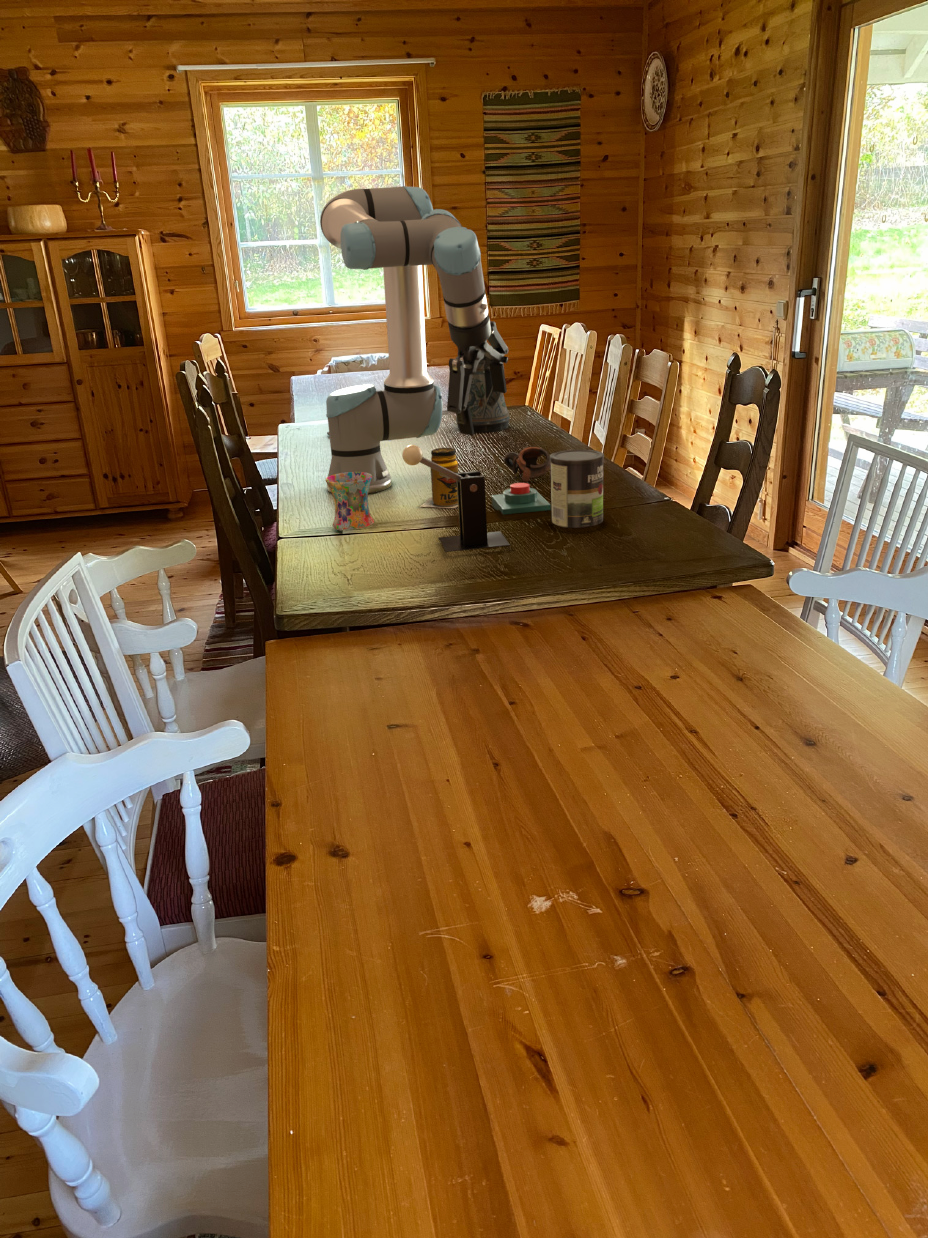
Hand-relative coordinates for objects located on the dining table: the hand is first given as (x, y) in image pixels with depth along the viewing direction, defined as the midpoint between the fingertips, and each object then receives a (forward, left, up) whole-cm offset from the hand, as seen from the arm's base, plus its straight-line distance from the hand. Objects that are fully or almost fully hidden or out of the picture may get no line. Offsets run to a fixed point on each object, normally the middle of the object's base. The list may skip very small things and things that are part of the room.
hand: (484, 411), depth 181 cm
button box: (-4, +8, -22) cm, 23 cm away
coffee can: (+11, +16, -22) cm, 29 cm away
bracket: (+18, -6, -22) cm, 29 cm away
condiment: (-15, -7, -22) cm, 27 cm away
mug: (-4, -27, -22) cm, 35 cm away
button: (-4, +8, -18) cm, 20 cm away
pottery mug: (-31, +16, -22) cm, 41 cm away
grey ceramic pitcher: (-98, +19, -22) cm, 102 cm away
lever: (+18, -13, -8) cm, 24 cm away
